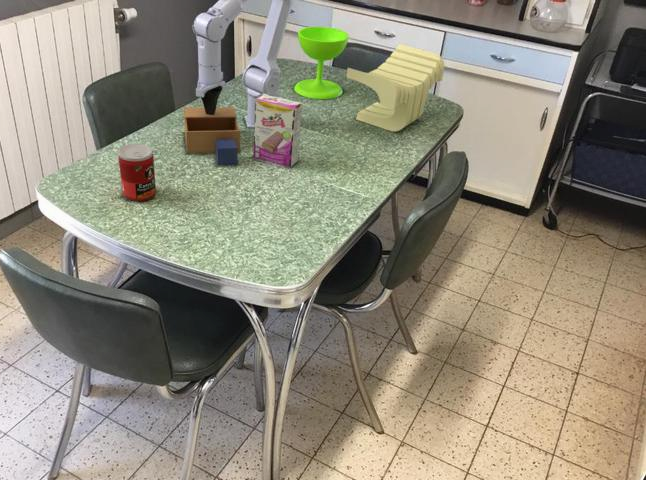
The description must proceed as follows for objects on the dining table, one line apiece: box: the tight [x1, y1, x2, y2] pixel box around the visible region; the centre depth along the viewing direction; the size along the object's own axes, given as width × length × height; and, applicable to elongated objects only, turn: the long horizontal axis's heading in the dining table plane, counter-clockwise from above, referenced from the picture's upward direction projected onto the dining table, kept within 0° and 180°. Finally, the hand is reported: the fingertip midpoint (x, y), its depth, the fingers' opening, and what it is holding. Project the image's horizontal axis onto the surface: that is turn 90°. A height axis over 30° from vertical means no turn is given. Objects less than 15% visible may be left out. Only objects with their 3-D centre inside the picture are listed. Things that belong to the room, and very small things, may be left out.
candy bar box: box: [253, 94, 303, 168], centre depth 164 cm, size 11×5×16 cm, turn 65°
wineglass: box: [293, 26, 350, 100], centre depth 205 cm, size 16×16×18 cm
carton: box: [183, 112, 241, 154], centre depth 173 cm, size 14×14×6 cm
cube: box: [215, 140, 238, 166], centre depth 165 cm, size 5×5×5 cm
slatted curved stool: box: [346, 43, 445, 133], centre depth 188 cm, size 30×16×18 cm, turn 144°
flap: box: [183, 106, 237, 119], centre depth 173 cm, size 7×14×1 cm, turn 100°
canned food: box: [117, 143, 157, 202], centre depth 148 cm, size 8×8×11 cm
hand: (210, 113), depth 172 cm, fingers closed, pressing on flap
